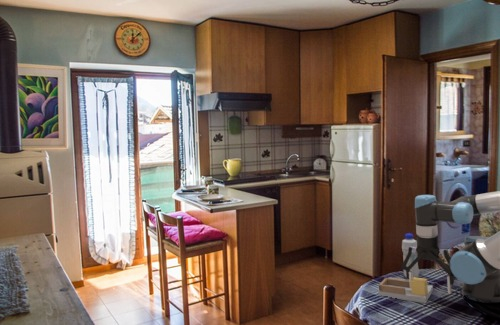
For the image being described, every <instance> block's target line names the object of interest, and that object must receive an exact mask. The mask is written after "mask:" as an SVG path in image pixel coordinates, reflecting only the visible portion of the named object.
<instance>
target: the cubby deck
mask: <svg viewBox="0 0 500 325" xmlns="http://www.w3.org/2000/svg"><path fill="white" fill-rule="evenodd" d="M427 286H428V292H427V294H426V295H425V296H422V295H415V294H411V288H410V284H409V281H405V280H398V279H390V278H389V277H384V278H383V280H382V281H381V282H380V283H379V284H378V290H377V294H378V295H382V296H381V297H383V296H388V297H387V298H389V297H392V298H391V299H395V298H397V299H396V300H403V301H410V302H415V303H422V304H427V302H428V301H429V299H430V297H431V295H432V293H433V291H434V286H433V285H430V284H427ZM378 295H377V296H378Z"/></svg>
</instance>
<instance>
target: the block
mask: <svg viewBox="0 0 500 325" xmlns="http://www.w3.org/2000/svg"><path fill="white" fill-rule="evenodd" d="M427 285H428V278H422V277H418V278H415V277H413V279H412V280H411V294H415V295H422V296H425V295H426V294H427V292H428V286H427Z"/></svg>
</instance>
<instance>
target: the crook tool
mask: <svg viewBox="0 0 500 325" xmlns="http://www.w3.org/2000/svg"><path fill="white" fill-rule="evenodd" d="M388 278H390V279H398V280H405V281H409V279H407V278H401V277H400V278H399V277H398V278H397V277H391V276H390V277H388Z"/></svg>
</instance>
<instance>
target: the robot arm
mask: <svg viewBox="0 0 500 325" xmlns="http://www.w3.org/2000/svg"><path fill="white" fill-rule="evenodd" d="M414 212H415V214H414V215H415V230H416V231H415V232H416V233H415V234H416V235H417V236H416V241H417V248H416V247H413V246H410V247H409V249H408V254H407V256H406V258H405V260H404V261H403V262H402V264H401V267H400V269H401V270H403V271H404V270H405V271H406V277H407V278H406V277H405V278H406V279H408V280H409V284H410V288H411V280H412V279H413V278H414V277H413V271H412V270H410V269H411V268H412V267H413V266H414V265H415V264H416V263H417V262H418V263H419V261H420V260H421V259H422V260H425V261H435V263H437V264H438V265H439V266H440V267H441V268H442V269H443V271H444V272H445V273H446V274H447V276H446V282H447V285H446V286H447V294H449V295H450V294H452V286H453V285H454V283H455V279H454V277H455V278H456V279H457V280H458V281H460V282H461V283H463V284H462V287H461V295H462V296H463V298H465V297H464V295H468V296H470V297H473V298H476V299H478V300H484V301H491V302H500V230H499V231H497V232H496V233H494V234H492V235H491V236H481V235H480V236H479V235H469V236H465V237H464V241H463V243H464V246H463V247H461V248H460V249H459V250H458V251H455V252H454V253H453V255H451V256H450V253H449V249H448V248H445V249H443V248H442V249H440V247H439V237H438V234H439V233H438V232H439V230H438V222H439V223H440V222H442V223H443V222H444V223H453V224H466V225H467V224H471V223H472V221H473V219H474V216H479V215H484V214H493V213H500V190H498V191H490V192H485V193H480V194H479V193H478V194H474V195H473V194H472V195H469V194H467V195H462V196H459V197H458V198H456V199H455V200H452V201H439V200H437V197H436V195H432V194H420V195H417V196H415V198H414ZM415 251H417V258H416V259H415V260H414V261H413V262H412V263H411V264H410V265H409V266H408V267H407V266H406V265H407V263H408V261H409V259H410V257H411V255H412V253H414V252H415ZM440 254H441V255H442V256H443V257H444V259H445V260H446V262H447V264H448V265H447V264H446V263H445V262H444V261H443V259H442V258H441V257H440V256H439V255H440Z"/></svg>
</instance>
